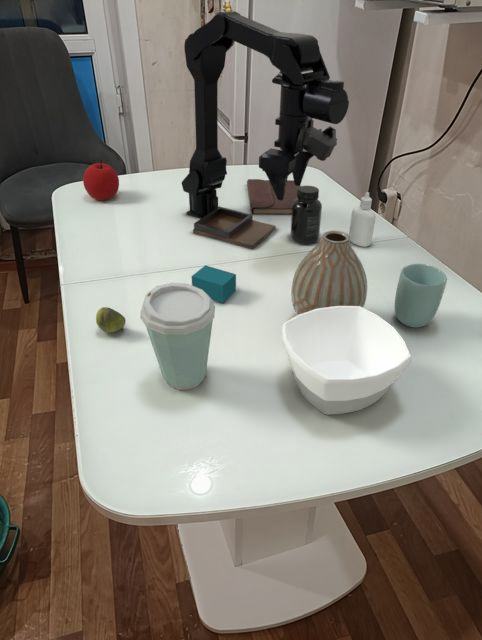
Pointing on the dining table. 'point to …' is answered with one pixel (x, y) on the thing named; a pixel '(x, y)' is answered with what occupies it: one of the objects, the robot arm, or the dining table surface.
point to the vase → (329, 276)
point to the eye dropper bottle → (362, 223)
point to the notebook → (270, 197)
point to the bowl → (343, 357)
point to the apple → (101, 181)
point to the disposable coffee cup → (179, 331)
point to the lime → (109, 320)
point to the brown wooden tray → (233, 227)
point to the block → (215, 283)
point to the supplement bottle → (306, 216)
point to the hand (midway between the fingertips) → (289, 192)
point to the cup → (419, 294)
